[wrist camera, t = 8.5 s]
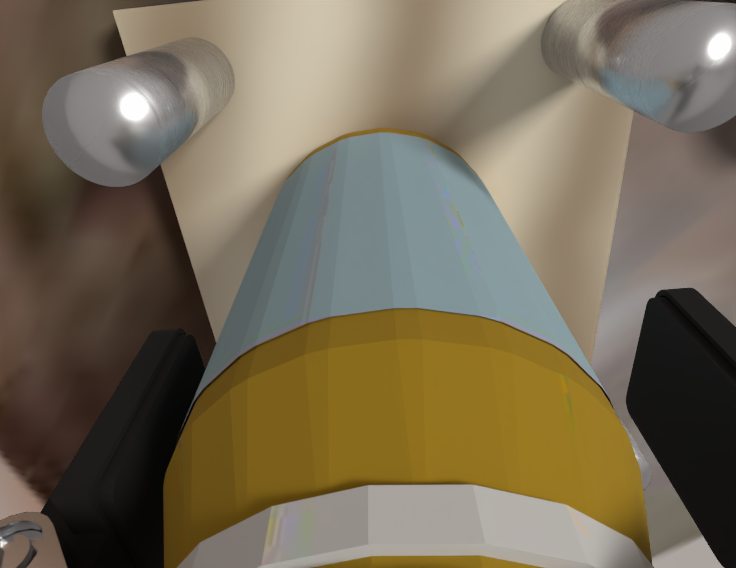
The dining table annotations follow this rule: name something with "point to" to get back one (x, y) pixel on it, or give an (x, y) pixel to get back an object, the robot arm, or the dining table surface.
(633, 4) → the holder pins
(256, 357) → the bottle
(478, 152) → the holder base
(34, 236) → the dining table surface
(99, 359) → the dining table surface
